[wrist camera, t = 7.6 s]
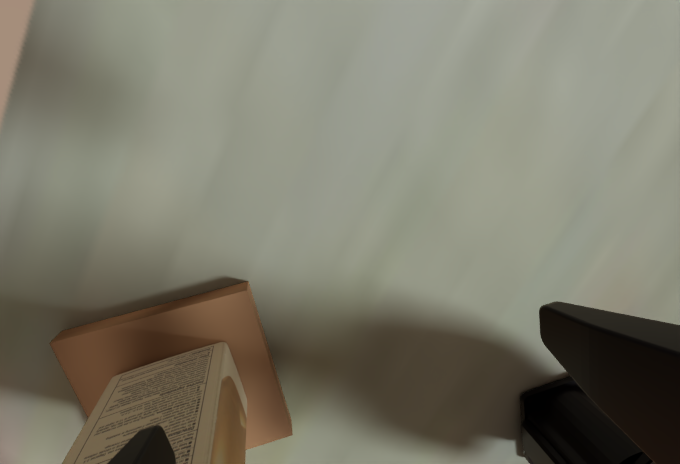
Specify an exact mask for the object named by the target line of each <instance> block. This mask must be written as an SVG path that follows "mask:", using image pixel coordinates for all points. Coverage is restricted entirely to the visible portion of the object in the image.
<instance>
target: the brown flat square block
mask: <svg viewBox="0 0 680 464" xmlns="http://www.w3.org/2000/svg"><path fill="white" fill-rule="evenodd" d="M219 342H225V343H227V345H228V347H229V349H230V352H231V355H232V357H233V360H234V363H235V366H236V368H237V371H238V374H239V377H240V380H241V383H242V386H243V389H244V392H245V395H246V398H247V423H246V450H247V449H250V448H253V447H256V446H259V445H263V444H266V443H269V442H272V441H275V440H278V439H281V438H285V437H288V436H291V435H293V434H292V421H291V417H290V414H289V411H288V408H287V404H286V401H285V398H284V395H283V392H282V388H281V385H280V382H279V379H278V375H277V372H276V369H275V366H274V363H273V359H272V356H271V353H270V350H269V347H268V343H267V340H266V337H265V334H264V330H263V327H262V324H261V321H260V318H259V314H258V311H257V308H256V305H255V302H254V298H253V295H252V292H251V289H250V286H249V282H248V281H247V282H244V283H240V284H236V285H232V286H229V287H225V288H221V289H217V290H214V291H210V292H206V293H202V294H199V295H195V296H191V297H187V298H184V299H180V300H176V301H172V302H169V303H165V304H161V305H157V306H154V307H150V308H146V309H142V310H139V311H135V312H131V313H127V314H124V315H120V316H116V317H112V318H109V319H105V320H101V321H97V322H94V323H90V324H86V325H82V326H79V327H75V328H71V329H67V330H64V331H61V332H60V333H59V334H58V335H57V336H56V337H55V338H54V339H53V340H52V341H51V342H50V345H51V347H52V349H53V351H54V353H55V355H56V357H57V359H58V361H59V363H60V365H61V366H62V368H63V370H64V372H65V374H66V376H67V378H68V380H69V382H70V384H71V386H72V388H73V390H74V392H75V393H76V395H77V397H78V399H79V401H80V403H81V405H82V407H83V409H84V411H85V413H86V415H87V417H88V418H89V416H90V414H91V413H92V411H93V409H94V408H95V406H96V404H97V402H98V401H99V399H100V397H101V395H102V394H103V392H104V390H105V389H106V387H107V385H108V384H109V382H110V380H111V379H112V378H113V377H114V376H116V375H119V374H122V373H125V372H128V371H131V370H133V369H136V368H139V367H142V366H145V365H148V364H151V363H154V362H157V361H160V360H163V359H166V358H170V357H173V356H176V355H179V354H182V353H185V352H189V351H192V350H195V349H198V348H202V347H205V346H209V345H212V344H216V343H219Z"/></svg>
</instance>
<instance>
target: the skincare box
mask: <svg viewBox="0 0 680 464" xmlns="http://www.w3.org/2000/svg"><path fill="white" fill-rule="evenodd" d="M246 423H247V398H246V395H245V392H244V389H243V386H242V383H241V380H240V377H239V374H238V371H237V368H236V366H235V363H234V360H233V357H232V355H231V352H230V349H229V347H228V345H227V343H225V342H219V343H216V344H212V345H209V346H205V347H202V348H198V349H195V350H192V351H189V352H185V353H182V354H179V355H176V356H173V357H170V358H166V359H163V360H160V361H157V362H154V363H151V364H148V365H145V366H142V367H139V368H136V369H133V370H131V371H128V372H125V373H122V374H119V375H116V376H114V377H113V378H112V379H111V380H110V382H109V384H108V385H107V387H106V389H105V390H104V392H103V394H102V395H101V397H100V399H99V401H98V402H97V404H96V406H95V408H94V409H93V411H92V413H91V414H90V416H89V418H88V420H87V421H86V423H85V425H84V427H83V428H82V430H81V432H80V433H79V435H78V437H77V439H76V440H75V442H74V444H73V446H72V447H71V449H70V451H69V452H68V454H67V456H66V457H65V459H64V461H63V463H62V464H107V463H108V462H109V461H110V460H111V459H112V458H113V457H114V456H115V455H116V454H117V453H118V452H119V451H120V450H121V449H122V448H123V447H124V446H125V445H126V444H127V442H128V441H129V440H130V439H131V438H132V437H133V436H134V435H135V434H136V433H137V432H138V431H140V430H142V429H145V428H148V427H152V426H155V425H160V426H161V427H162V428H163V429H164V431H165V433H166V435H167V438H168V440H169V442H170V444H171V446H172V449H173V451H174V453H175V458H176V464H245V451H246Z"/></svg>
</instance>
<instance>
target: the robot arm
mask: <svg viewBox="0 0 680 464" xmlns="http://www.w3.org/2000/svg"><path fill="white" fill-rule="evenodd" d="M539 318H540V334H541V339H542V341H543V343H544V345H545V346H546V347H547V348H548V350H549V351H550V352H551V353H552V354H553V356H554V357H555V358H556V359H557V360H558V361H559V363H560V364H561V365H562V366H563V367H564V369H565V370H566V371H567V372H568V373H569V375H570V376H571V377H568V378H565V379H562V380H559V381H556V382H553V383H550V384H547V385H545V386H542V387H539V388H536V389H533V390H530V391H527V392H525V393H523V394H522V395H521V397H520V403H521V415H522V424H521V430H522V441H523V450H524V451H525V458H526V460H527V461H528V462H529V463H530V464H680V325H676V324H671V323H665V322H660V321H655V320H650V319H645V318H640V317H635V316H630V315H625V314H620V313H614V312H609V311H604V310H599V309H594V308H589V307H584V306H579V305H574V304H569V303H563V302H552V303H549V304H546V305H543V306H541V307H540V310H539ZM107 464H176V458H175V453H174V451H173V449H172V446H171V444H170V442H169V440H168V438H167V435H166V433H165V431H164V429H163V428H162V427H161V426H160V425H155V426H152V427H148V428H145V429H142V430H140V431H138V432H137V433H136V434H135V435H134V436H133V437H132V438H131V439H130V440H129V441H128V442H127V444H126V445H125V446H124V447H123V448H122V449H121V450H120V451H119V452H118V453H117V454H116V455H115V456H114V457H113V458H112V459H111V460H110V461H109V462H108V463H107Z"/></svg>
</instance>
